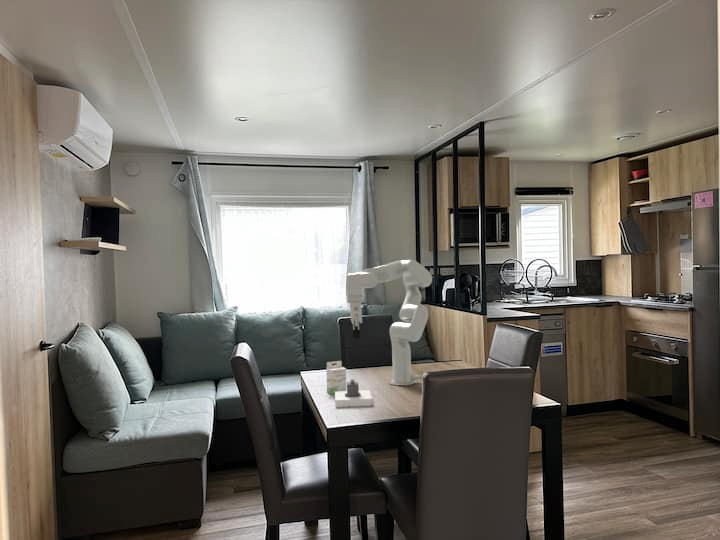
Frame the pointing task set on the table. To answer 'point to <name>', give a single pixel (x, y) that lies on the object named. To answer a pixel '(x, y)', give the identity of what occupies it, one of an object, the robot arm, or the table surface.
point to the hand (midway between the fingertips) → (356, 337)
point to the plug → (352, 389)
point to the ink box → (336, 377)
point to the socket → (353, 399)
